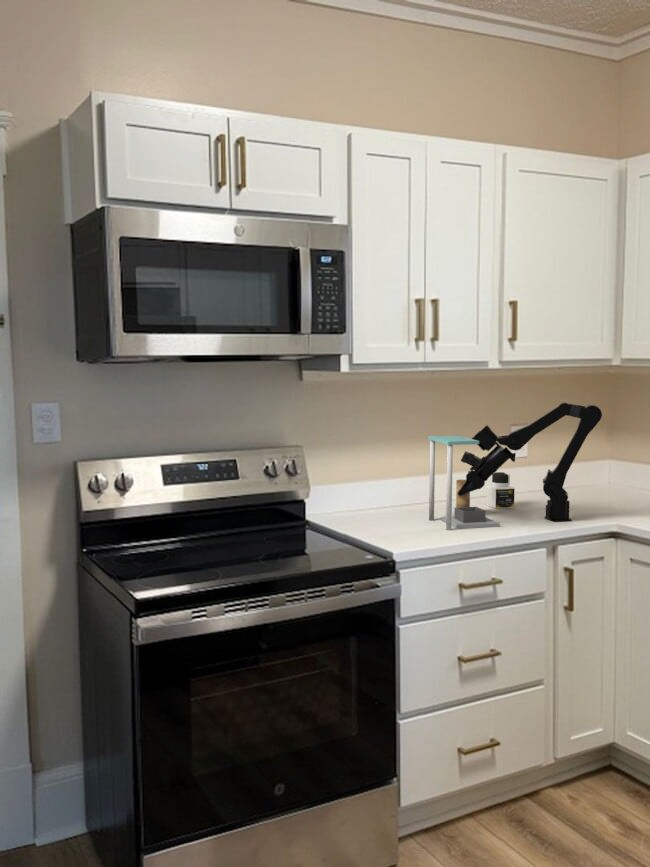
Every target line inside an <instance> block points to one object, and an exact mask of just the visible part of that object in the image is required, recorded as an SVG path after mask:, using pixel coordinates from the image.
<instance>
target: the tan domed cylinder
mask: <svg viewBox="0 0 650 867" xmlns="http://www.w3.org/2000/svg"><path fill="white" fill-rule="evenodd" d="M465 482H466V479H456V483H455V484H456V486H455V487H456V488H455V490H456V494H455V496H456V497H455V499H456V500H455V503H456V504H455V508H458V507H471V503H470V502H471V499H470V498H471V492H468V493H466V494H463V495H461V496H459V495H458V494H457V493H458V492H459V490H460V489H461V488H462V486H463V485H464V483H465Z"/></svg>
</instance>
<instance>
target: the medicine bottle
mask: <svg viewBox="0 0 650 867" xmlns="http://www.w3.org/2000/svg"><path fill="white" fill-rule="evenodd" d="M491 478H492V479H491V485H487V487H486V505H487V506H488V507H491V508H493V509H498V510H499V509H514V508H515V490H516V489H515V487H512V486H511V485H510V484H511V483H510V482H511V475H510V473H508V472H503V471H499V472H498V471H496V472H495V473H493V474H492V475H491Z"/></svg>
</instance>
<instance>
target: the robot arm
mask: <svg viewBox="0 0 650 867" xmlns="http://www.w3.org/2000/svg"><path fill="white" fill-rule="evenodd" d="M565 416H568V417H572V418H576V419H577V418H578V419H579V421H578V425H577V428H576V430H575V431H574V433H573V436H572V437H571V439H570V441H569V442H568V445H567V446H566V448H565V450H564V452H563V454H562V456H561V457H560V460H559V462H558V463H557V465H556V466H555V467H554V468H553V470H551V469H548V470H547V473H546V475H545V476H544V478H543V479H542V483H543V484H542V485H543V486H542V489H543V493H544V494H545V496H547V497H549V499H547V502H546V505H545V516H544V519H546V520H549V521H552V522H567V521H568V522H571V521H573V519H572V518H570V500H568V499H569V493H568V492H567V491H566V490H565V488H564V485H565V480H566V478H567V474H568V472H569V470H570V468H571V466H572V464H573V462H574V460H575V459H576V457H577V455H578V453H579V452H580V450H581V448H582V446H583V444H584V443H585V440H586V438H587V437H588V436H589V434H590V432H592V431H593V429H594V428H595V427H596V426H597V425H598V424H599V422H600V421H601V419H602V417H603V413H602V410H601V409H600V407H599V406H597V405H596V404H588V405H586V406H585V405H581V404H580V405H578V404H573V403H568V402H564V401H563V402H561V403H559V405H557V406H556V407H554V408H553V409H552V410H550V411H548V412H547V413H545V414H544V415H542V416H541V417H539V418H537V419H536V420H535V421H533V422H532V423H529V424H528V425H525V426H523V427H520V428H518V429H516V430H514V431H513V430H512V431H511V432H510V433H508V434H507V435H499V436H498V435H497V434H496V433H495V432H494V431H493V430H492V429H491V427H490V426H489V425H488V424H487V425H485V426H484V427H483V428H482V429H481V430H479V431H478V432H477V433H476V434H475V435H473V436H472V438H471V439H474V440H478V441H479V444H476V445H477V446H478V447H479V448H480V449H481V450H482V452H483V451H487V452H489V451H490V450H491V449H492V450H491V451H490V452H489V453H488V454H486V455H485V456H483V457H479V456H476V454H474V453H472V452H469V451H464V453H463V455H462V456H461V458H460V461H461V463H463V464H467V465H469V466H471V467H470V468H469V470H468V471H467V474H465V475H466V476H465V480H466V482H465V483H464V485H463V486H462V488H461V489H460V490H459V492H458V493H457V494H458V495H459V496H461V495H463V494H466V493H468V492H470V493H471V492H474V491H476V490H481V489H482V488H483V487H484V486H485V483H486V482H487V481H488V480H489V478H490V477H492V474H493V473H496V472H498V470H499V469H500V468H501V467H502V466H503V465H504V464H505V463H506V462H507V461H509V459H510V460H511V461H512V462H513V463H515V462H516V455H517V453H516V452H511V451H520V449H522V448H523V447H524V446H525V445H526V444H527V443H528V442H530V441H531V439H532V438H534V437H535V436H536V435H537V434H539V433H541V432H543V431H544V430H545V429H547V428H548V427H550V426H551V425H553V424H554V423H556V422H558V421H559V420H560V419H562V418H564V417H565ZM503 446H505V447H503ZM493 447H494V448H493Z"/></svg>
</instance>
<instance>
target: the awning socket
mask: <svg viewBox="0 0 650 867" xmlns="http://www.w3.org/2000/svg"><path fill="white" fill-rule="evenodd" d="M427 439H428V441H429V480H428V481H429V482H428V483H429V486H428V487H429V488H428V490H429V491H428V492H429V494H428V521H431V522H432V521H435V480H436V479H435V478H436V477H435V474H436V473H435V471H436V470H435V468H436V466H435V464H436V461H435V460H436V442H437V443H441V444H444V445H446V454H447V455H446V457H447V459H446V460H447V461H446V505H445V506H446V513H445V514H446V515H445V516H440V521H441V522H444V523H445V524H446V525H445V526H446V527H445V530H446V531H451V530H452V527H453V528H455V529H477V528H479V529H480V528H499V527H500V526H501V524H500V522H498V521H495V520H493V519H491V518H488V517H487V516H486V515H487V514H486V513H487V512H486V511H487V510H485V509H483V508H480V507H478V506H470V507H458V508H456V507H454V511H453V512H454V516H453V514H452V510H453V454H454V452H453V451H454V450H453V446H454V445H455V446H456V445H457V446H460V445H477V444H479V441H478V440H474V439H472V438H469V437H464V436H461V435H433V436H431V435H429V436H428V438H427Z"/></svg>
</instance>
